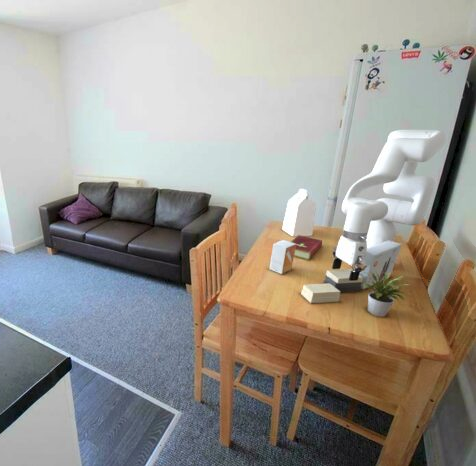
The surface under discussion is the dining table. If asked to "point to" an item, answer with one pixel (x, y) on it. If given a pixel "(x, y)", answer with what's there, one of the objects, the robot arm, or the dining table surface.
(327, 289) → the cream book stack
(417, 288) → the dining table surface
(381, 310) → the house plant
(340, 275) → the cream book
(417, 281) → the dining table surface
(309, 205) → the milk
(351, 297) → the dining table surface
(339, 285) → the grey book stack
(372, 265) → the skincare box
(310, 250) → the hardcover book
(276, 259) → the small box
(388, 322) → the dining table surface
